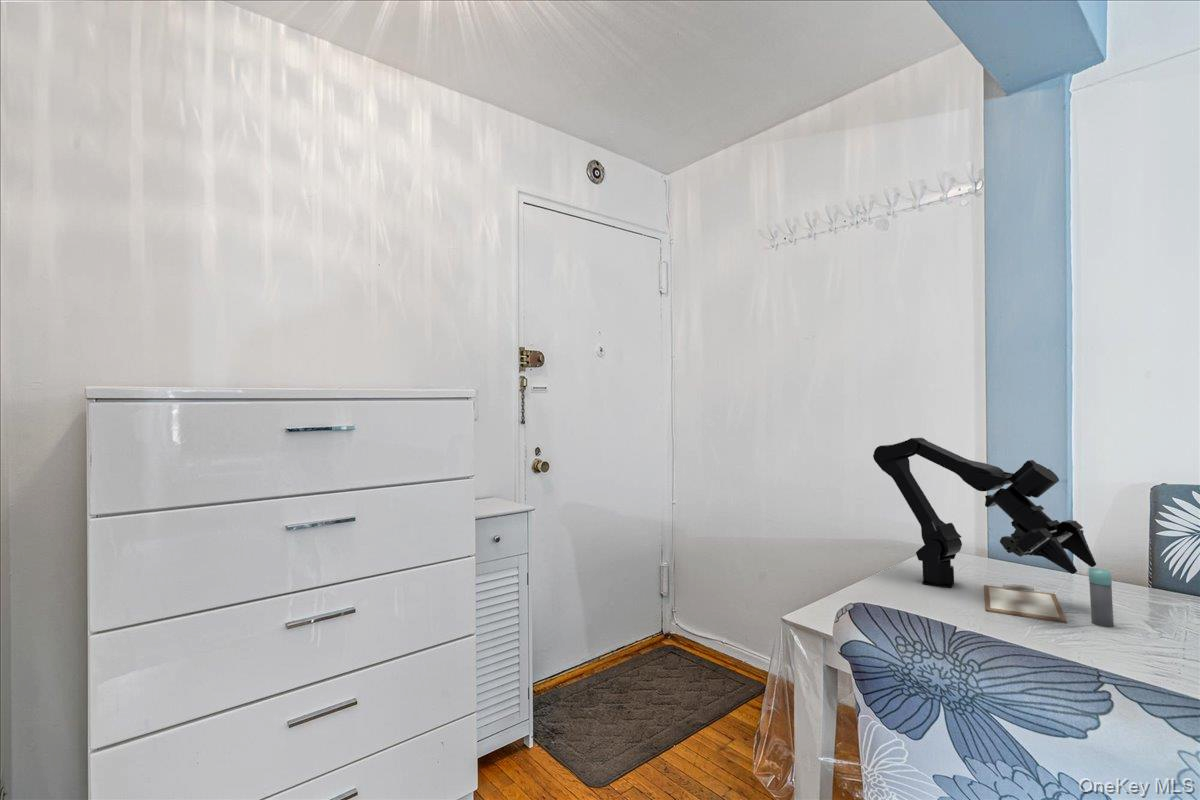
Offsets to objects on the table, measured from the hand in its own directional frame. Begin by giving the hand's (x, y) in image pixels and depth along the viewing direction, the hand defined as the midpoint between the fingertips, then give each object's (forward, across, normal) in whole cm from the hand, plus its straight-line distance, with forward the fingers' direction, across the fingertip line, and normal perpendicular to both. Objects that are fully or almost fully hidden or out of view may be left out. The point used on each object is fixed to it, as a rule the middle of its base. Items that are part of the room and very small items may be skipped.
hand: (1084, 569), depth 116 cm
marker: (+9, 0, -6) cm, 11 cm away
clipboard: (-1, 0, -16) cm, 16 cm away
